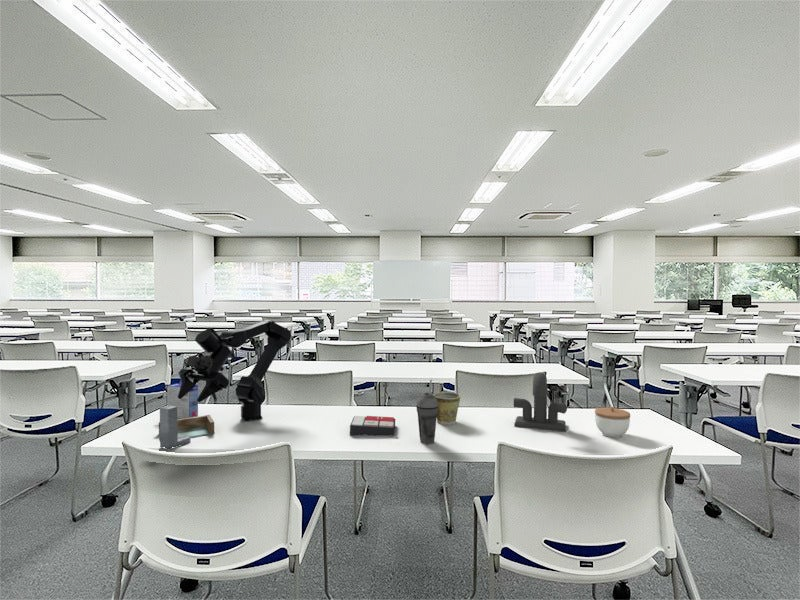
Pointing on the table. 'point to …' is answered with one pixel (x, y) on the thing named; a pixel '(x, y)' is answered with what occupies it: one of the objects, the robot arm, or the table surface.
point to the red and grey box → (372, 426)
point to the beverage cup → (427, 416)
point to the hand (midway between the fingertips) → (188, 399)
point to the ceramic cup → (447, 407)
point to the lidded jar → (612, 421)
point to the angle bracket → (170, 428)
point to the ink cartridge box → (183, 401)
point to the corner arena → (194, 426)
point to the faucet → (540, 409)
